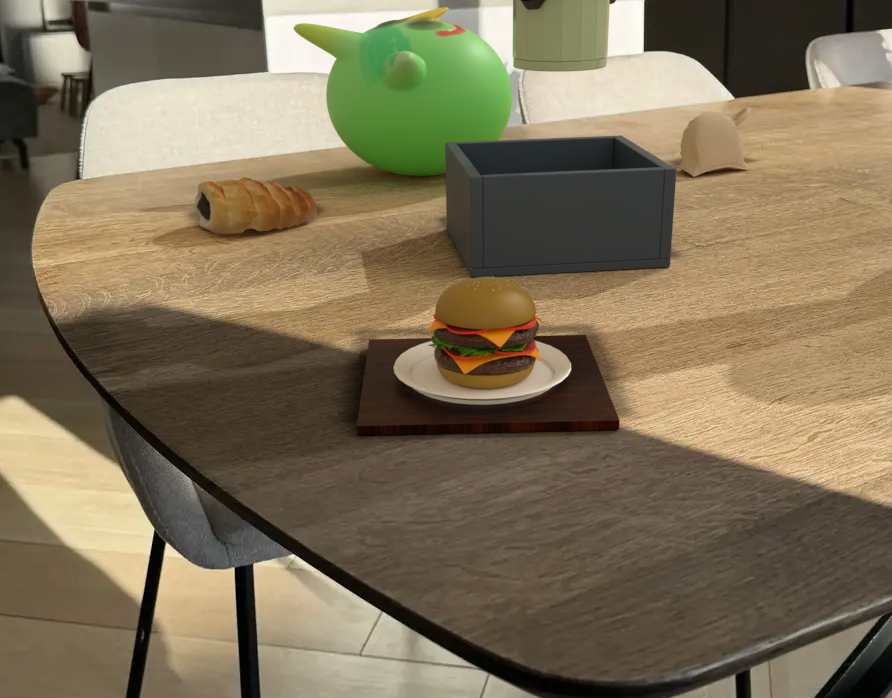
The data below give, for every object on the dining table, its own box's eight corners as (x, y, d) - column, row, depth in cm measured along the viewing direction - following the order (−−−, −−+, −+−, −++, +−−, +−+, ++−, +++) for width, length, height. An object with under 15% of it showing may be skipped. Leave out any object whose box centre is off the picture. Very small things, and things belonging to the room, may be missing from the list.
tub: (593, 60, 78) (598, -67, 74) (616, 70, 72) (623, -66, 69) (506, 62, 77) (506, -65, 74) (522, 72, 72) (524, -65, 68)
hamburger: (369, 347, 62) (364, 250, 60) (585, 342, 62) (588, 245, 60) (357, 435, 51) (350, 320, 49) (618, 429, 51) (624, 314, 49)
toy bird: (545, 172, 106) (548, 6, 100) (416, 202, 95) (411, 18, 89) (415, 151, 118) (411, 1, 111) (287, 175, 107) (275, 11, 101)
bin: (617, 221, 88) (621, 135, 85) (670, 267, 75) (676, 168, 73) (446, 229, 86) (444, 142, 84) (471, 277, 74) (470, 177, 71)
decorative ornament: (665, 170, 106) (668, 112, 104) (734, 161, 109) (739, 105, 107) (691, 177, 102) (695, 117, 100) (762, 168, 106) (768, 110, 104)
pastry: (300, 210, 93) (296, 163, 92) (330, 227, 88) (328, 178, 86) (190, 224, 89) (184, 176, 88) (215, 242, 84) (210, 192, 82)
